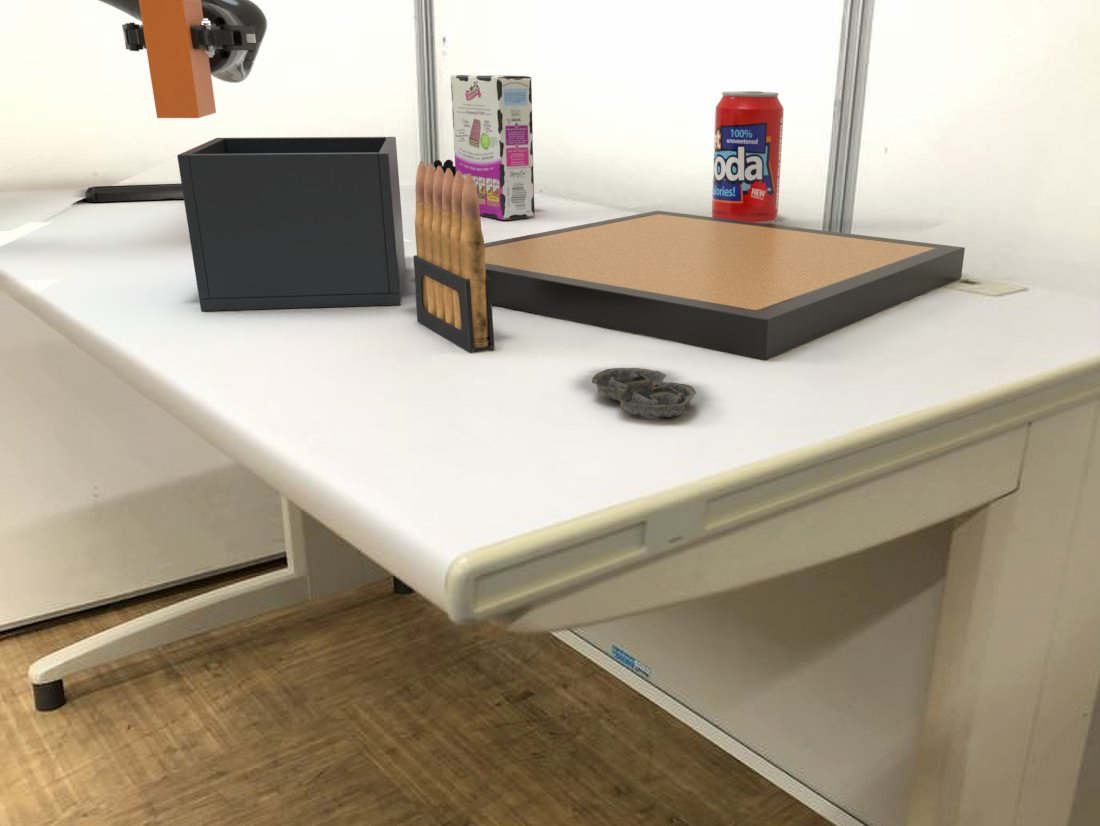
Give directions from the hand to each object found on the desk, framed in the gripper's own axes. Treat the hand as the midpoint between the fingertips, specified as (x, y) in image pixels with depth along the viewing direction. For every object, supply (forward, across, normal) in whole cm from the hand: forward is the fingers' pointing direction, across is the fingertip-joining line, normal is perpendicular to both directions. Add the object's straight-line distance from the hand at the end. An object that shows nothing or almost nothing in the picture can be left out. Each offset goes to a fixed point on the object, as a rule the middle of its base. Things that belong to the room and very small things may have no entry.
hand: (169, 37), depth 105 cm
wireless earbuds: (-33, -26, -20) cm, 47 cm away
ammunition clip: (+42, -26, -21) cm, 54 cm away
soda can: (-5, -61, -20) cm, 65 cm away
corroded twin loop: (+60, -37, -20) cm, 73 cm away
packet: (-3, 0, -8) cm, 8 cm away
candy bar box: (-17, -32, -20) cm, 42 cm away
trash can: (+24, -14, -20) cm, 34 cm away
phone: (-38, +14, -20) cm, 45 cm away
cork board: (+27, -48, -20) cm, 59 cm away
